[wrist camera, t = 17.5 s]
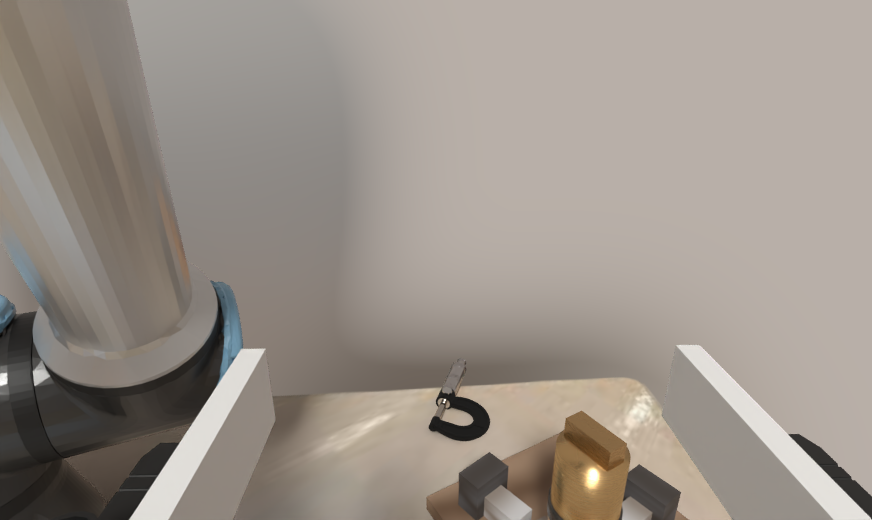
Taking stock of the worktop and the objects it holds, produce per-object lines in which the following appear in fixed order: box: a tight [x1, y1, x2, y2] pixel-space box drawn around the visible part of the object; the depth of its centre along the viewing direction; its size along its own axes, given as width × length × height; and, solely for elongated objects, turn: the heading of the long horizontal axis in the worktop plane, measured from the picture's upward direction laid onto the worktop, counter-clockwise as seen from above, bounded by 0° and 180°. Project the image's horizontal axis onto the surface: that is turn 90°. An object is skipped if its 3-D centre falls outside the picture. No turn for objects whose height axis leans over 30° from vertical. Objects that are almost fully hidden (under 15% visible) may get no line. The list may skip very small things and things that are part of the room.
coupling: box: [547, 411, 630, 520], centre depth 37 cm, size 5×5×15 cm
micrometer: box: [429, 358, 490, 441], centre depth 63 cm, size 15×7×2 cm, turn 164°
